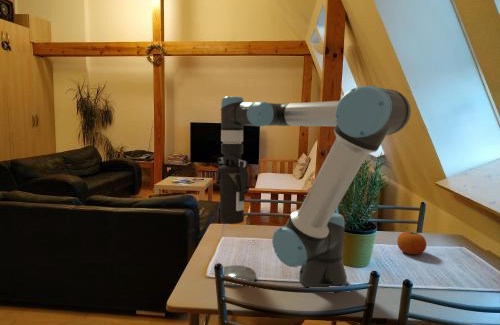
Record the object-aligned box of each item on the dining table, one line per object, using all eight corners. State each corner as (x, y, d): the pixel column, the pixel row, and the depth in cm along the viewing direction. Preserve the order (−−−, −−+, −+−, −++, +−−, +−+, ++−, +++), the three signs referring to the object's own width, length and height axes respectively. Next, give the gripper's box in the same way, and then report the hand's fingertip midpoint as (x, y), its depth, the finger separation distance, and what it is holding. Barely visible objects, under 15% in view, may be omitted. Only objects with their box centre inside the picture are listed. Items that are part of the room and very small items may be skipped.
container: (241, 225, 117) (241, 166, 115) (215, 223, 119) (215, 165, 116) (246, 218, 125) (247, 163, 123) (223, 216, 127) (223, 162, 125)
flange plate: (263, 278, 114) (263, 275, 114) (233, 291, 105) (233, 287, 105) (238, 265, 124) (238, 262, 123) (208, 276, 115) (208, 272, 115)
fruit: (415, 259, 132) (416, 239, 131) (391, 250, 141) (392, 231, 140) (430, 254, 138) (432, 235, 137) (406, 246, 147) (408, 227, 146)
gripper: (261, 144, 113) (260, 212, 116) (222, 140, 129) (222, 200, 132) (243, 145, 108) (242, 215, 111) (205, 141, 124) (205, 203, 127)
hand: (231, 207), depth 121 cm, fingers closed on container, 8 cm apart
